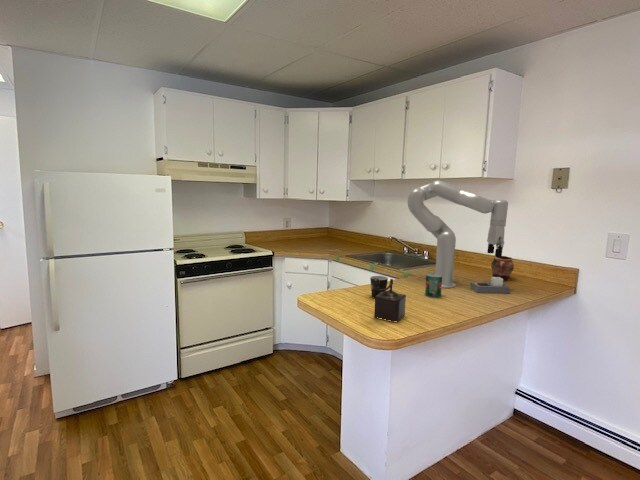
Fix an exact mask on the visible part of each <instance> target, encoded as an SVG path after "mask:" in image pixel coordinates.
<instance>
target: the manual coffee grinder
mask: <svg viewBox="0 0 640 480" xmlns="http://www.w3.org/2000/svg"><path fill="white" fill-rule="evenodd" d="M389 281H390V282H389V285H387V287H386V288H385V289H379V287H378V285H379V284H380V280H379V279H377V278H373V279H371V280H370V286H371V285H372V286H373V287H372V289H373V290H378V291H383V292H380V293H379V294H378V295H377V296H375V299H374V316H373V318H374V317H378V318H382V319H386V320H391V321H399V320H400V319H401V318H402V317H403V316H404V315H406V298H407V295H406V294H402V293H398V292H396V291H394V290H393V285H394V279H393V278H391V279H390V280H389ZM404 317H405V316H404ZM404 317H403V318H404ZM403 318H402V319H403ZM402 319H401V320H402ZM401 320H400V321H401ZM400 321H399V322H400Z"/></svg>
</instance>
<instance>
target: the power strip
mask: <svg viewBox="0 0 640 480" xmlns="http://www.w3.org/2000/svg"><path fill="white" fill-rule="evenodd" d="M469 285H470V287H469V288H470V290H471V291H473V292H474V293H476V294H499V293H500V294H501V293H502V294H504V295H507V294H509V295H510V294H511V293H510V292H511V287H510V286H509V285H506V284H505V283H503V286H492V285H491V282H481V281H479V282H475V281H473V282H472V281H470V283H469Z"/></svg>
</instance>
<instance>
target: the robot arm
mask: <svg viewBox="0 0 640 480" xmlns="http://www.w3.org/2000/svg"><path fill="white" fill-rule="evenodd" d="M436 197H438V198H441V199H444V200H446V201H448V202H451V203H453V204H456V205H458V206H464V207H466V208H468V209H471V210H474V211H476V212H479V213H481V214H483V215H484V214H489V213H490V222H489V228H488V233H487V239H486V242H487V254H494V257H501V256H503V250H504V246H505V227H506V226H507V219H508V218H507V217H508V216H507V215H508V208H509V201H507V200H503V199H488V198H485V197H483V196H479V195H478V194H475V193H473V192H470V191H467V190H466V189H464V188H462V187H458V186H456V185H453V184H452V183H448V182H445V181H444V180H443V181H442V180H439V179H438V180H434V181H432V182H429V183H427V184H425V185H422V186H418V187H414V188H413V189H411V191H410V192H409V194H408V197H407V208H408V210H409V212H410V213H411V215H413V216H414V218H415V219H416V220H417V221H418V222H419V223H420V224H421V226H422V227H423V228H424V229H425V231H427V232H429V233H431V234H432V236H434V238H435V239H436V256H435V257H436V259H435V273H437V274H441V275H442V288H443V289H451V288H455V287H456V283H454V281H453V280H454V266H455V252H456V243H457V241H456V240H457V236H456V234H455V232H454V231H453V230H452V228H450V227H449V226H448V225H447V224H446V222H445V221H444V220H443V219H441V218H440V216H438V215H436V214H434V213H433V212H432V211H431V210H430V209H429V208H428V207H427V206H426V205H425V203H424V201H427V200H431V199H432V198H436ZM495 248H496V249H495Z"/></svg>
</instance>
